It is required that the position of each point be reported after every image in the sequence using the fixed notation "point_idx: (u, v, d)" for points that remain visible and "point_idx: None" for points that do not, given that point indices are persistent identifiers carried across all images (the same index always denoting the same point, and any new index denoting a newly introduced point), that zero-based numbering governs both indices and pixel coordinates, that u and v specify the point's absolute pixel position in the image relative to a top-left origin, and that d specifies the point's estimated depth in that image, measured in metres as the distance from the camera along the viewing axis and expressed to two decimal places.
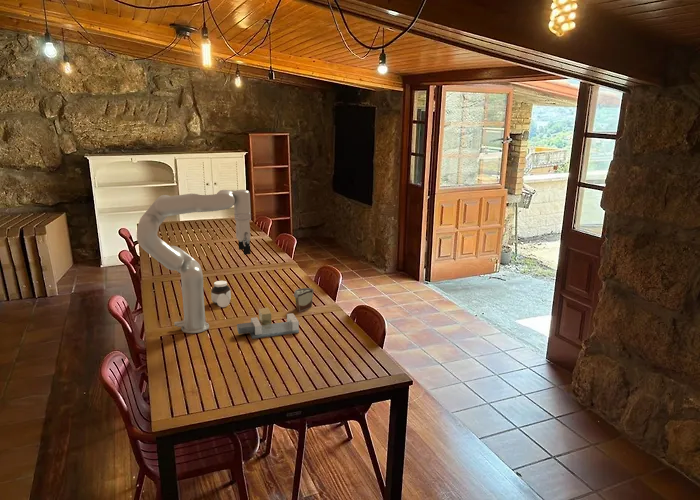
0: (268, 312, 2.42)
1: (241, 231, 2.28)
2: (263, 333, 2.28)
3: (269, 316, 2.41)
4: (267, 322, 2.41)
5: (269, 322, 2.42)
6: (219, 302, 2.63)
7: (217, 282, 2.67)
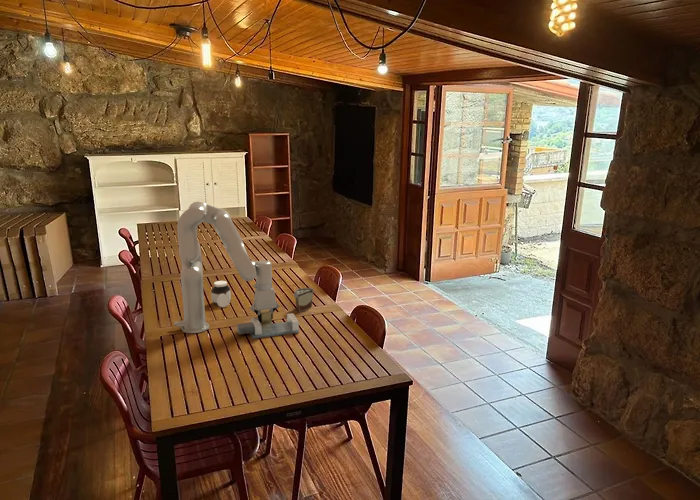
0: (268, 312, 2.42)
1: None
2: (263, 333, 2.28)
3: (269, 316, 2.41)
4: (267, 322, 2.41)
5: (269, 322, 2.42)
6: (219, 302, 2.63)
7: (217, 282, 2.67)
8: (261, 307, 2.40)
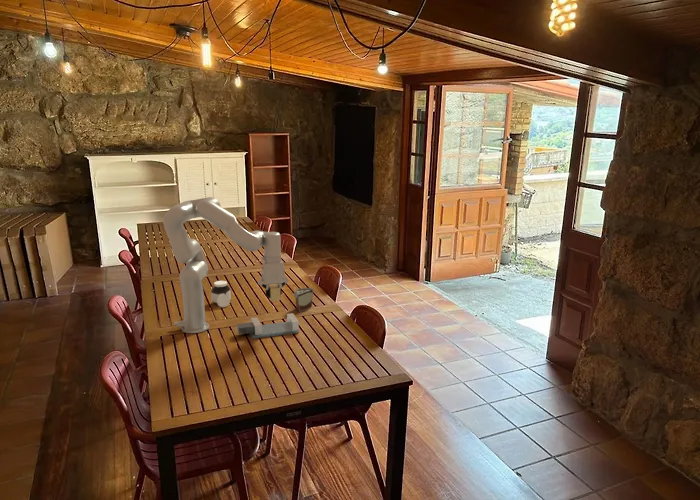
0: (277, 286, 2.28)
1: (284, 271, 2.28)
2: (263, 333, 2.28)
3: (278, 291, 2.27)
4: (276, 297, 2.27)
5: (278, 297, 2.28)
6: (219, 302, 2.63)
7: (217, 282, 2.67)
8: (269, 281, 2.26)
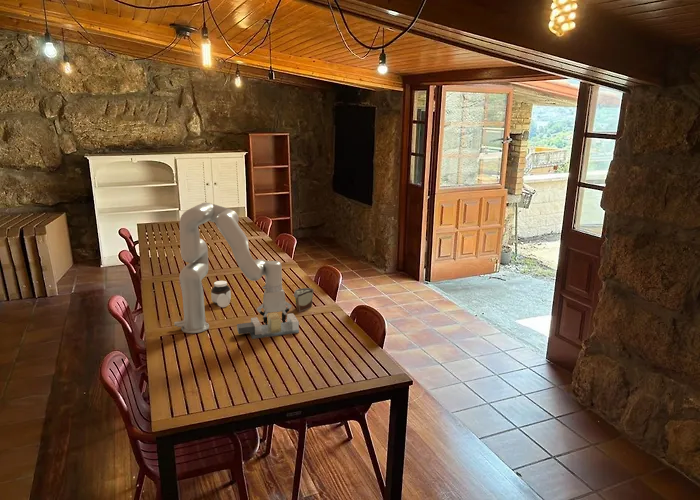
0: (277, 317, 2.31)
1: None
2: (263, 333, 2.28)
3: (279, 321, 2.30)
4: (276, 328, 2.31)
5: (279, 328, 2.31)
6: (219, 302, 2.63)
7: (217, 282, 2.67)
8: (270, 310, 2.29)
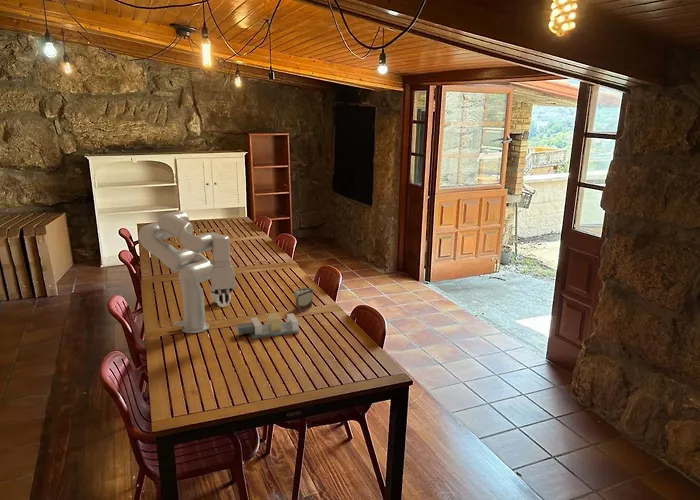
0: (277, 317, 2.31)
1: (234, 276, 2.20)
2: (263, 333, 2.28)
3: (279, 321, 2.30)
4: (276, 328, 2.31)
5: (279, 328, 2.31)
6: (219, 302, 2.63)
7: None
8: (218, 286, 2.18)
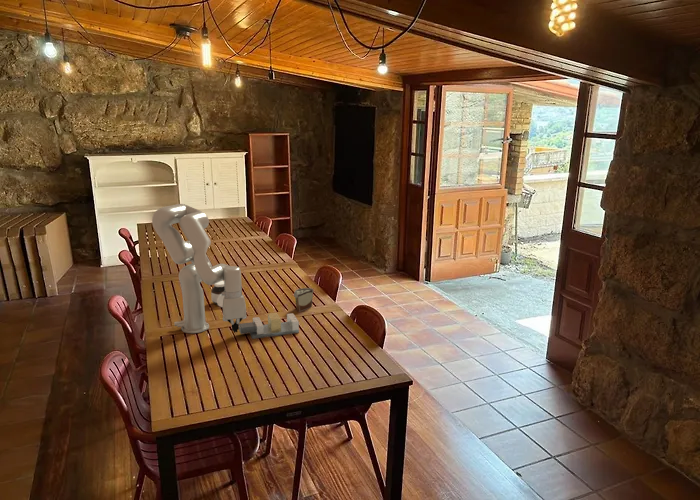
0: (277, 317, 2.31)
1: (245, 306, 2.25)
2: None
3: (279, 321, 2.30)
4: (276, 328, 2.31)
5: (279, 328, 2.31)
6: (219, 302, 2.63)
7: None
8: (230, 316, 2.23)
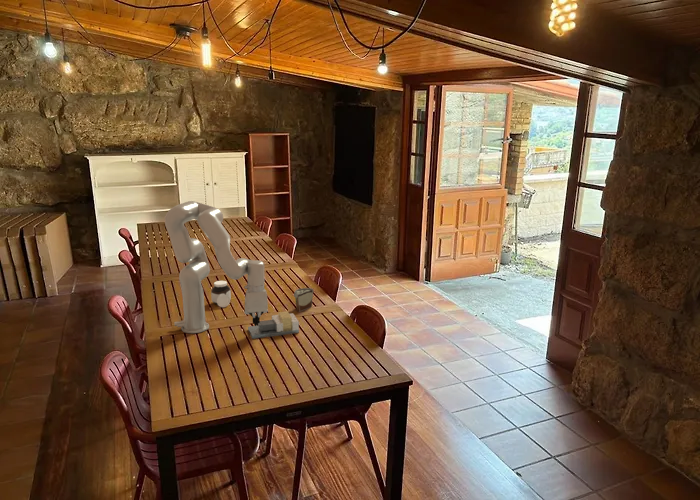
0: (288, 316, 2.33)
1: (267, 300, 2.28)
2: (263, 333, 2.28)
3: (289, 320, 2.32)
4: (287, 326, 2.33)
5: (289, 326, 2.33)
6: (219, 302, 2.63)
7: (217, 282, 2.67)
8: (252, 310, 2.26)
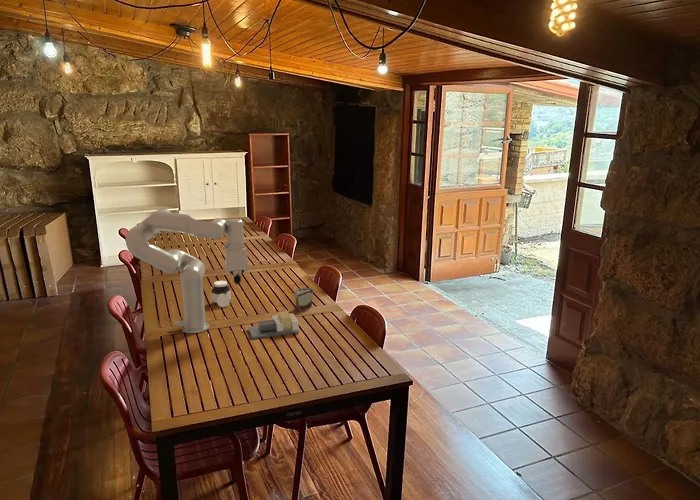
0: (288, 316, 2.33)
1: (247, 258, 2.30)
2: (263, 333, 2.28)
3: (289, 320, 2.32)
4: (287, 326, 2.33)
5: (289, 326, 2.33)
6: (219, 302, 2.63)
7: (217, 282, 2.67)
8: (232, 268, 2.28)
